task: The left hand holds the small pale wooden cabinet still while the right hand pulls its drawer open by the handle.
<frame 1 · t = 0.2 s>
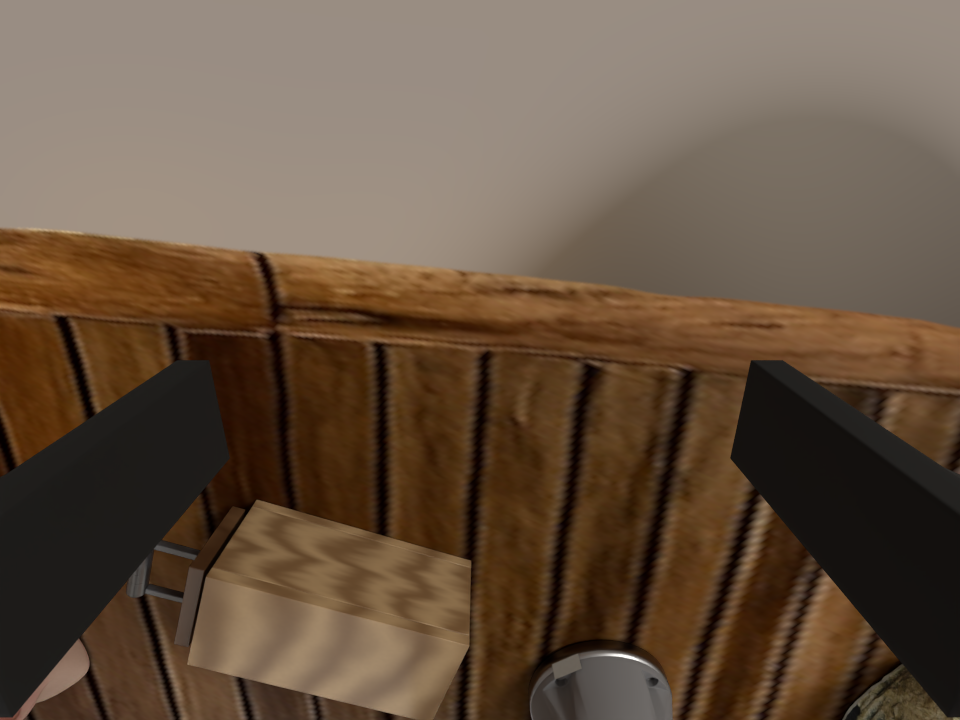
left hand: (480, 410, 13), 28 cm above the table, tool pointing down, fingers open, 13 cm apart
anatomical model: (35, 653, 55), on the table
fossil: (892, 694, 57), on the table
drawer: (284, 593, 45), point 5 cm above the table, slide at 0.5 cm
cabinet: (353, 568, 50), on the table
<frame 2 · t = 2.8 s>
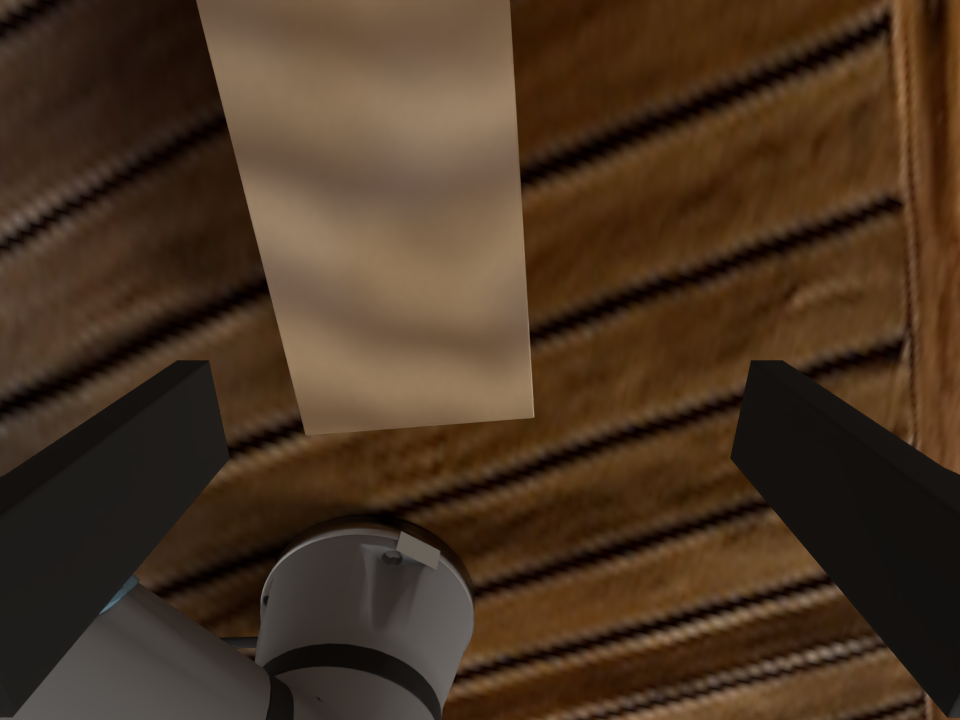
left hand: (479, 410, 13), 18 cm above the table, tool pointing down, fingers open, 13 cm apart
cabinet: (412, 163, 27), on the table
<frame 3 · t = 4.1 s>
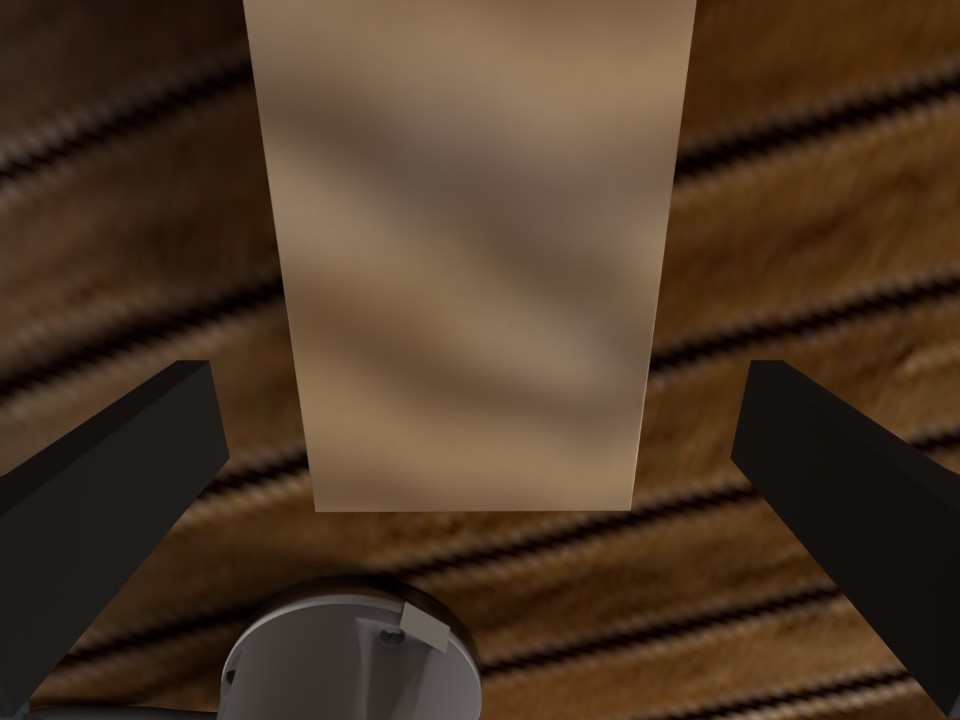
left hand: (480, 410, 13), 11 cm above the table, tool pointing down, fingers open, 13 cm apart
cabinet: (473, 156, 21), on the table
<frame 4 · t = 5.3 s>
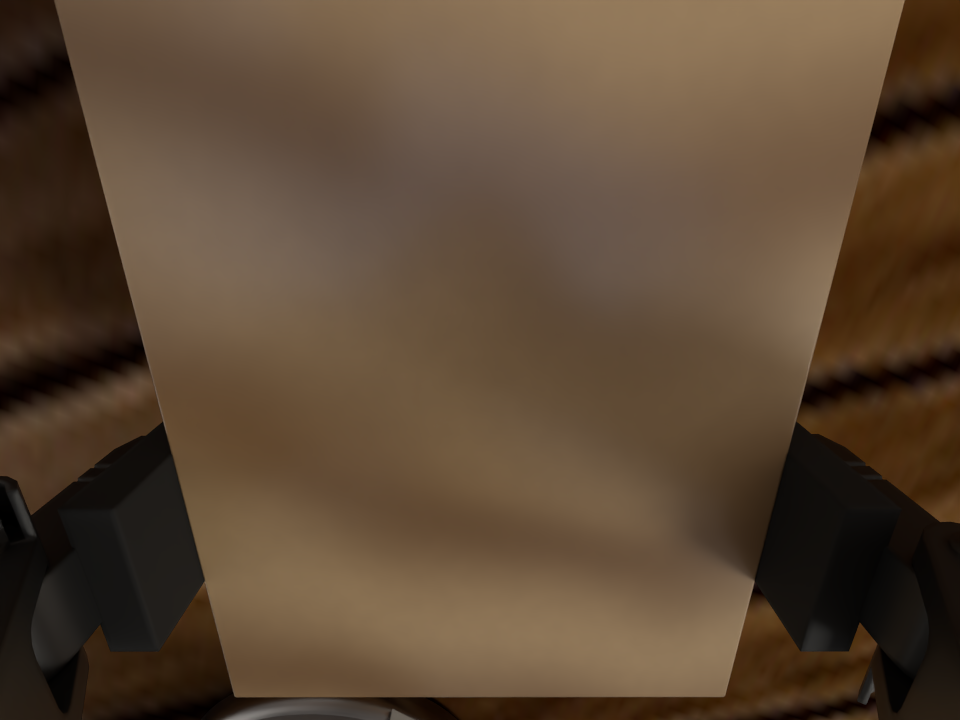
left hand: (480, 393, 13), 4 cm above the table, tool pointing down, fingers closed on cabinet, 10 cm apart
cabinet: (479, 145, 15), on the table, touching left hand
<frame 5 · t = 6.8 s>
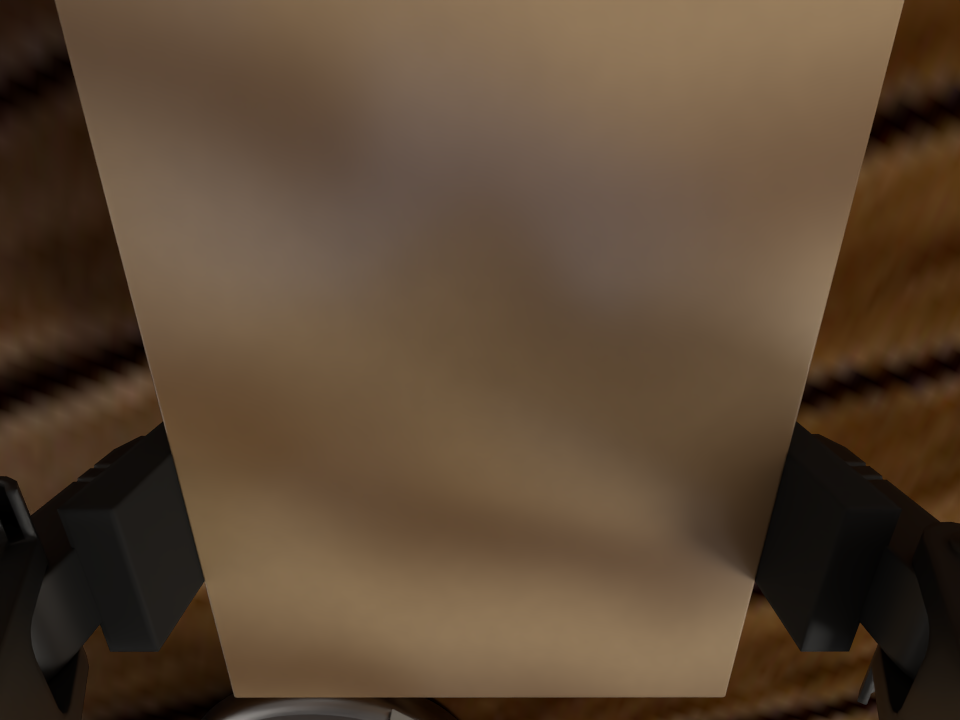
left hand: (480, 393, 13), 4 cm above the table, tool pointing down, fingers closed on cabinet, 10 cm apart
cabinet: (479, 145, 15), on the table, touching left hand
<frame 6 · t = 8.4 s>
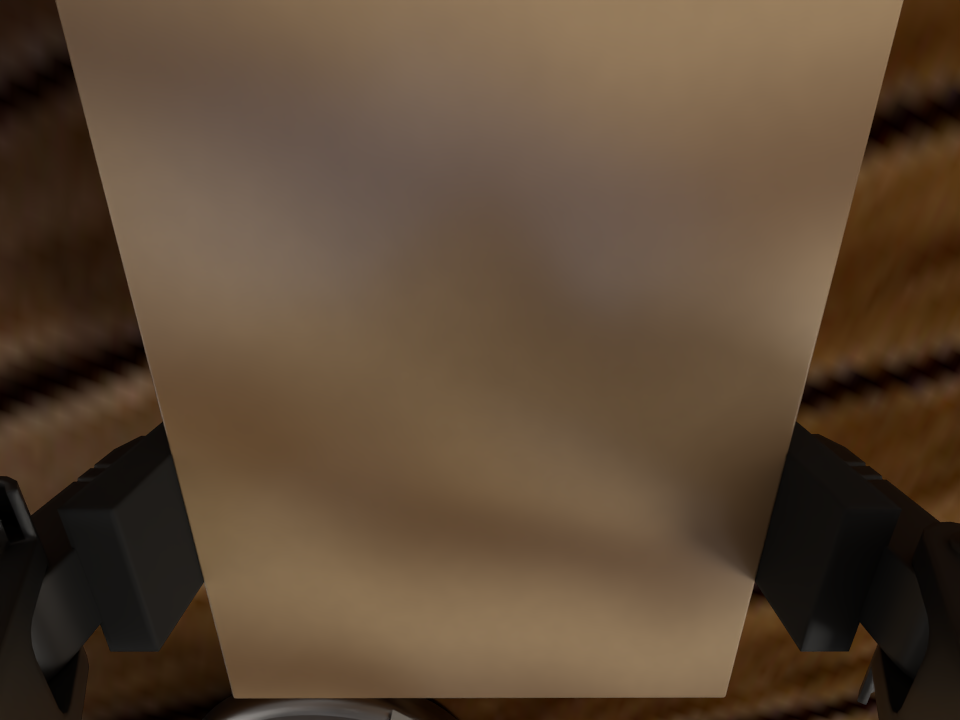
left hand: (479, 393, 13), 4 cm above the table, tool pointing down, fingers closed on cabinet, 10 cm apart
cabinet: (479, 146, 15), on the table, touching left hand
when the left hand's fingers open (4 cm above the table, at t = 10.0 s): cabinet stays where it is, on the table.
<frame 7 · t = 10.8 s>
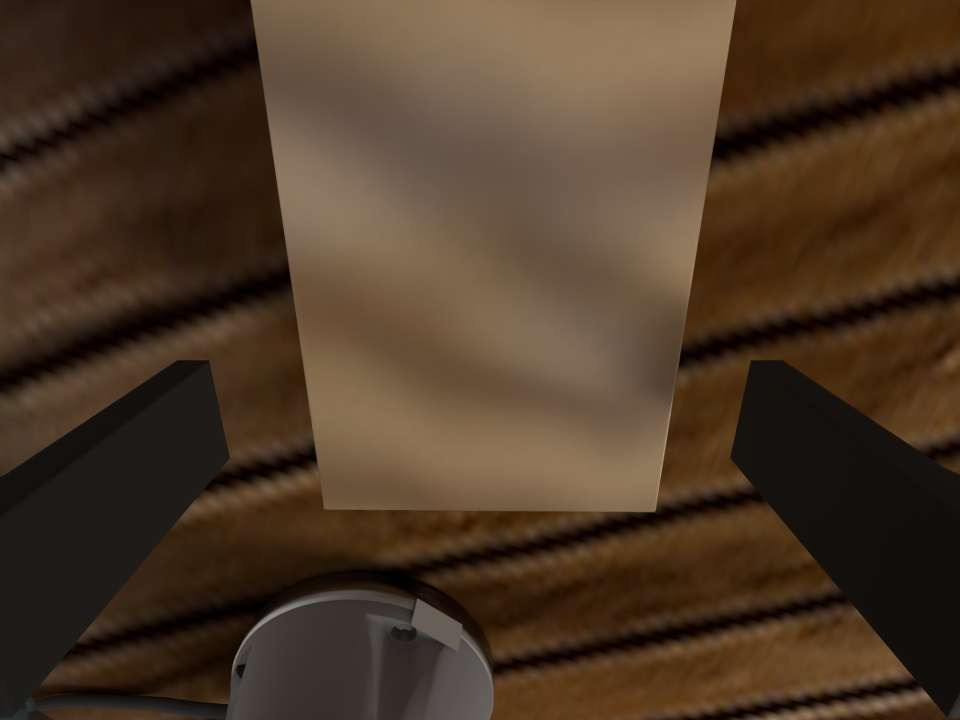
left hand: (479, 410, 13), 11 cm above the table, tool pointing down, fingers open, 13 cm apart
cabinet: (489, 137, 20), on the table
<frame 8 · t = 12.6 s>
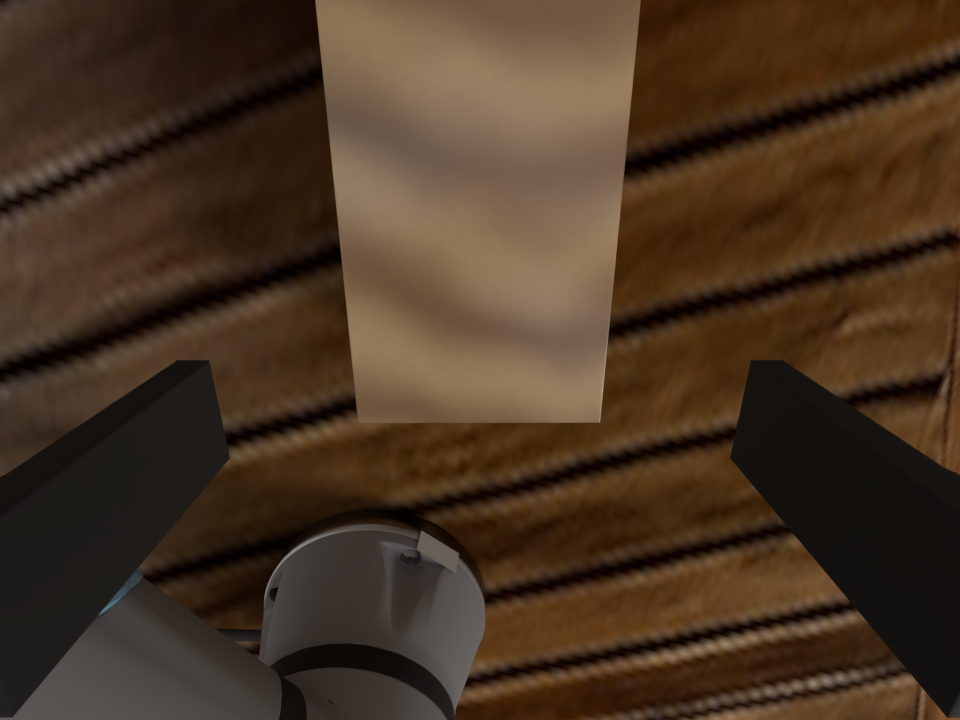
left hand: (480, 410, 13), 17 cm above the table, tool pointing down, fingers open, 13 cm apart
cabinet: (478, 149, 26), on the table
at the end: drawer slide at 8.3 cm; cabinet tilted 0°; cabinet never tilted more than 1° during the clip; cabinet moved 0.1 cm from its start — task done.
